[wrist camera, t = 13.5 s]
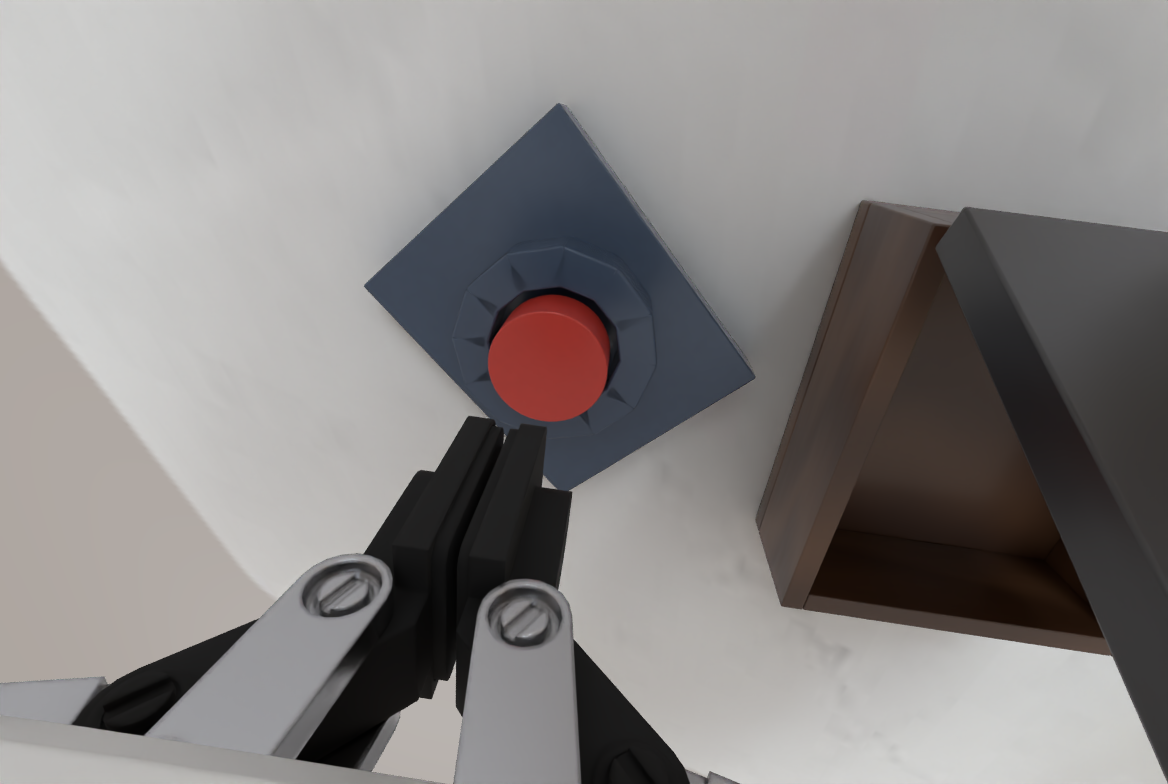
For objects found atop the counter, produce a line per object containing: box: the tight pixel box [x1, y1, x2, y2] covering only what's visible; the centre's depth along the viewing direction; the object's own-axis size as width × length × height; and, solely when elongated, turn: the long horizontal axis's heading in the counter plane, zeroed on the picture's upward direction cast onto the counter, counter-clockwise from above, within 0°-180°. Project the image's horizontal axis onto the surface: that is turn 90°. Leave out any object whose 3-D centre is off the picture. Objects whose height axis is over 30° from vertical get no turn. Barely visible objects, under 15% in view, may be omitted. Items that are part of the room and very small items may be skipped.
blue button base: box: [364, 103, 756, 491], centre depth 19 cm, size 11×9×4 cm
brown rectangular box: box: [756, 200, 1112, 656], centre depth 18 cm, size 14×13×5 cm
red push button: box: [488, 295, 610, 422], centre depth 16 cm, size 4×4×2 cm
